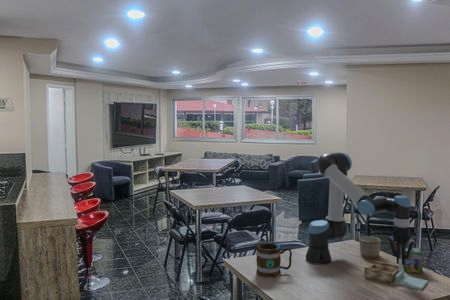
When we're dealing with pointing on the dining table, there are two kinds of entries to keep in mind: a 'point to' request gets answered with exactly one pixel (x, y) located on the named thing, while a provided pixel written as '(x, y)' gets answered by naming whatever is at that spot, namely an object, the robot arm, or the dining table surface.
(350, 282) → the dining table surface
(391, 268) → the oak case
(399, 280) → the cover plate
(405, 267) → the chalk box
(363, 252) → the planter
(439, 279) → the dining table surface
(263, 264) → the mug
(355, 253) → the dining table surface
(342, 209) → the robot arm
